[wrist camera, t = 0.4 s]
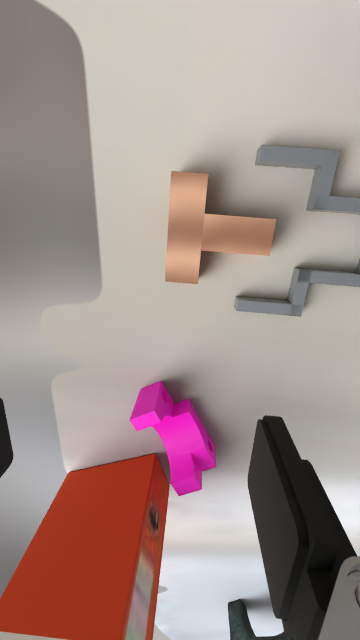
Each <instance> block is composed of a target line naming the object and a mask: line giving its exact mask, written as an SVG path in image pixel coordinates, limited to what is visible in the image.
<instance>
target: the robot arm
mask: <svg viewBox="0 0 360 640" xmlns="http://www.w3.org/2000/svg"><path fill="white" fill-rule="evenodd" d="M12 460H13V451H12V446H11V440H10V435H9V430H8V425H7V419H6V414H5V409H4V404H3V400H2V399H1V398H0V478H1V476H2V475H3V474H4V473H5V471H6V470H7V469H8V468H9V466H10V464H11V463H12ZM248 489H249V494H250V499H251V504H252V509H253V514H254V519H255V524H256V529H257V533H258V538H259V543H260V548H261V553H262V558H263V563H264V568H265V573H266V578H267V583H268V588H269V593H270V597H271V602H272V607H273V611H274V615H275V617H276V618H278V619H282V623H283V628H284V632H285V636H288V637H297V639H298V640H360V556H357V555H356V553H355V551H354V549H353V547H352V545H351V543H350V541H349V539H348V537H347V535H346V533H345V531H344V529H343V527H342V525H341V523H340V521H339V519H338V517H337V515H336V513H335V511H334V509H333V507H332V505H331V503H330V501H329V499H328V497H327V495H326V493H325V490H324V488H323V486H322V484H321V482H320V480H319V478H318V476H317V474H316V472H315V470H314V468H313V466H312V465H311V463H310V462H309V461H308V460H301V458H300V455H299V453H298V451H297V449H296V447H295V445H294V443H293V440H292V438H291V436H290V434H289V432H288V430H287V427H286V425H285V423H284V421H283V419H282V418H281V417H277V416H264V417H263V420H261V419H259V420H258V422H257V427H256V433H255V439H254V444H253V450H252V456H251V461H250V467H249V473H248ZM0 640H66V639H58V638H50V637H41V636H33V635H25V634H16V633H8V632H0Z"/></svg>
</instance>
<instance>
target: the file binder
mask: <svg viewBox="0 0 360 640" xmlns="http://www.w3.org/2000/svg"><path fill="white" fill-rule="evenodd" d="M169 487H170V486H169V482H168V480H167V478H166V476H165V473H164V471H163V469H162V467H161V465H160V462H159V460H158V458H157V456H156V454H150V455H146V456H141V457H137V458H132V459H128V460H123V461H119V462H114V463H110V464H105V465H101V466H96V467H91V468H87V469H82V470H78V471H73V472H69V473H68V475H67V476H66V478H65V480H64V482H63V484H62V486H61V488H60V489H59V491H58V493H57V495H56V497H55V499H54V500H53V502H52V504H51V506H50V508H49V510H48V512H47V514H46V515H45V517H44V519H43V521H42V523H41V525H40V526H39V528H38V530H37V532H36V534H35V536H34V537H33V539H32V541H31V543H30V545H29V547H28V549H27V550H26V552H25V554H24V556H23V558H22V560H21V562H20V563H19V565H18V567H17V569H16V571H15V573H14V574H13V576H12V578H11V580H10V582H9V584H8V586H7V588H6V589H5V591H4V593H3V595H2V597H1V599H0V632H8V633H16V634H25V635H33V636H41V637H50V638H58V639H66V640H152V638H153V630H154V621H155V612H156V603H157V594H158V585H159V576H160V567H161V558H162V550H163V541H164V532H165V523H166V514H167V505H168V496H169Z"/></svg>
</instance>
